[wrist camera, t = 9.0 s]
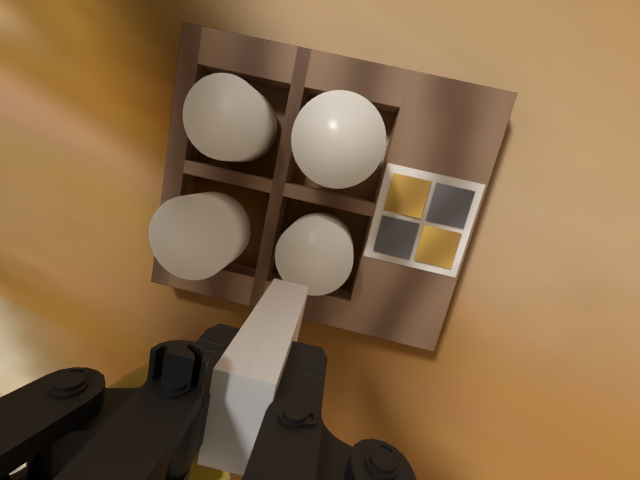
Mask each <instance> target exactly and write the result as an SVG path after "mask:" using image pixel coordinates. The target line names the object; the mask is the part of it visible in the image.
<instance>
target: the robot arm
mask: <svg viewBox="0 0 640 480" xmlns="http://www.w3.org/2000/svg"><path fill="white" fill-rule="evenodd" d="M308 290H309V287H308V286H304V285H300V284H296V283H292V282H288V281H283V280H279V279H275V278H274V280H273V281H272V283H271V284H270V286H269V287H268V289H267V290H266V292H265V293H264V294H263V296H262V297H261V299H260V300H259V302H258V303H257V305H256V306H255V308H254V309H253V311H252V312H251V314H250V315H249V317H248V318H247V320H246V321H245V323H244V324H243V325H242V327H241V328H240V329H238V328H234V327H230V326H226V325H222V324H218V325H216V326H214V327H212V328H209V329H207V330H206V331H205V333H204V334H203V335H202V336H201V337H200V339H199V340H198V341H197V342H196V343H195V342H192V341H185V340H173V341H167V342H163V343H160V344H158V345H156V346H155V347H153V348H151V352H150V360H149V368H148V377H147V381H146V382H145V383H144V384H143V385H142V386H141V387H138V388H105V378H104V375H102V374H101V373H100V372H99V371H97V370H94V369H90V368H81V367H74V368H68V369H62V370H58V371H56V372H53V373H50V374H48V375H45V376H43V377H41V378H39V379H37V380H35V381H33V382H31V383H29V384H27V385H25V386H23V387H21V388H19V389H17V390H15V391H13V392H11V393H9V394H7V395H4V396H2V397H0V480H188V479H189V476H190V470H191V464H192V462H193V460H194V458H195V457H196V455H197V453H198V451H199V449H200V451H199V457H198V463H197V464H199V465H203V466H207V467H211V468H214V469H218V470H222V471H226V472H230V473H233V474H237V475H241V476H243V478H242V480H417V479H416V477H415V475H414V472H413V470H412V468H411V466H410V464H409V463H408V461H407V460H406V458H405V457H404V455H403V454H401V453H400V452H399V451H398V450H397V449H396V448H395V447H393V446H391V445H389V444H387V443H386V442H384V441H380V440H375V439H366V440H361V441H360V442H358V443H356V444H355V445H354V447H351V446H350V445H348V444H346V443H344V442H342V441H341V440H339V439H338V438H336V437H335V436H334V435H333V434H332V433H331V432H330V431H328V429H327V428H326V426H325V425H324V423H323V420H322V418H321V407H322V398H323V390H324V381H325V373H326V364H327V357H326V355H325V353H324V351H323V349H322V348H320V347H316V346H312V345H308V344H304V343H300V342H297V339H298V334H299V330H300V326H301V321H302V317H303V312H304V308H305V303H306V299H307V295H308ZM24 463H26V467H25V468H23V469H22V470H20V471H18V472H16V473H14V474H12V475H9V473H11V472H12V471H14V470H15V469H17V468H18V467H20V466H21V465H23V464H24Z"/></svg>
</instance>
